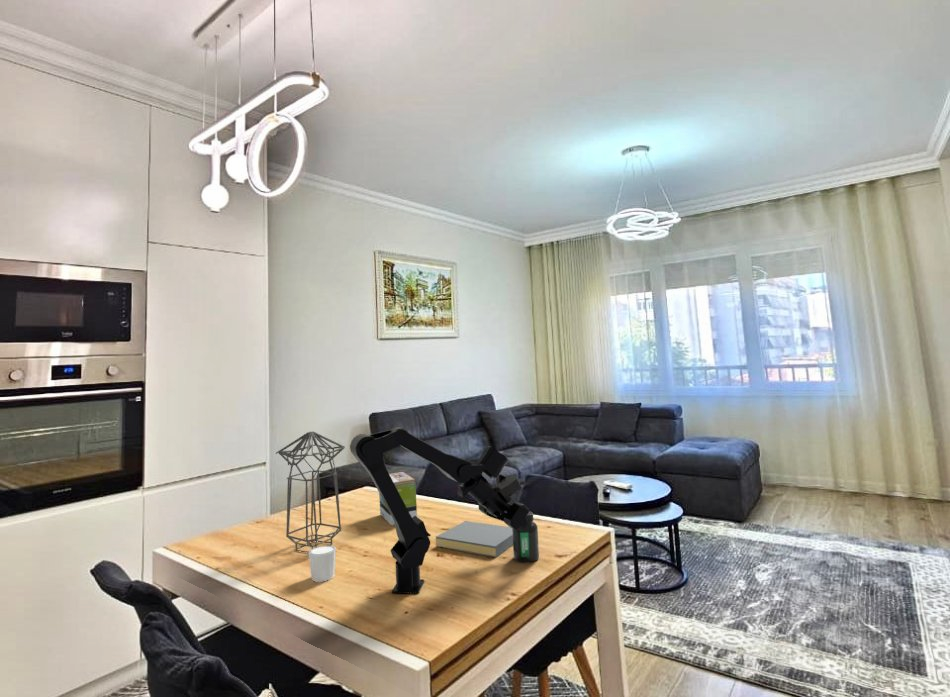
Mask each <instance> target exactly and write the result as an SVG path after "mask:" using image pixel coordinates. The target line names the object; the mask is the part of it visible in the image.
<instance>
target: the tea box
mask: <svg viewBox="0 0 950 697" xmlns="http://www.w3.org/2000/svg"><path fill="white" fill-rule="evenodd" d="M389 475H390V477H391V479H392V481H393V483H394V484H395V486H396V488H397V490H398V492H399V494H400V496H401V498H402V500H403V502H404V504H405V505H406V507H407V509H408V511H409V513H410V515H411V517H412V518H413V517H414V516H416V517H418V507H417V506H418V505H417V488H416V485H417V484H416V478H413V477H412V476H410V475H409V474H407V473H405V472H404V471H400V472H393V473H392V472H391V473H389ZM378 493H379V492H378ZM378 496H379V500H378V501H379V514H380V516H382V518H384V520H385V521H386V522H387V523H388V524H389V525H390V526H394V525H395V522H394V520H393V518H392V516H391V514H390V512H389V510H388V508H387V507H386V505H385V503H384V501H383V499H382V497H381V495H380V493H379V494H378Z"/></svg>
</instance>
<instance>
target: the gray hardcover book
mask: <svg viewBox="0 0 950 697" xmlns="http://www.w3.org/2000/svg"><path fill="white" fill-rule="evenodd" d="M435 547H436V548H440V547H443V548H442V549H446V548H447V549H448V550H451V549H453V550H452V551H458V552H463V553H469V554H476V555H480V556H484V557H491V558H497V557H500V555H501V554H503V553H504V552H505V551H507V550H509V549H510V548H511V547H513V533H512V528H511V527H509V526H505V525H497V524H490V523H483V522H476V521H468V520H463V522H461V523H459V524H456V525H455V526H453V527H451V528H449V529H447V530H445V531H444V532H442V533H440V534H438V535H436V536H435ZM447 549H446V550H447Z"/></svg>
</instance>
